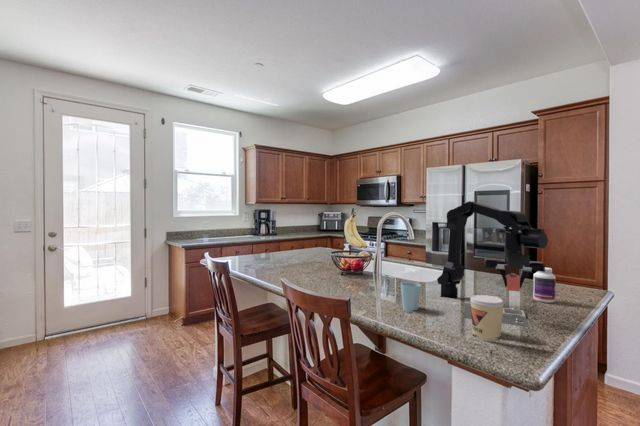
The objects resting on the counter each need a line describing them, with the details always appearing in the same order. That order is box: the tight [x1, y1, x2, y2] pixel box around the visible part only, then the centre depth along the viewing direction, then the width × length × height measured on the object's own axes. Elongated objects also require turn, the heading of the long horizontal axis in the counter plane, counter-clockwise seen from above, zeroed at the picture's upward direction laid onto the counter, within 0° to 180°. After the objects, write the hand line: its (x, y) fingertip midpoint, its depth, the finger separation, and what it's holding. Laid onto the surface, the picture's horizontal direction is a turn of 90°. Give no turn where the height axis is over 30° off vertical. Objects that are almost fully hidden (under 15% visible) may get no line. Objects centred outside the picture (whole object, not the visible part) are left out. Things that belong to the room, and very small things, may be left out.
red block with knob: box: [505, 272, 521, 292], centre depth 120 cm, size 4×4×6 cm
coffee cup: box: [470, 294, 505, 342], centre depth 102 cm, size 9×9×12 cm
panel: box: [462, 302, 530, 328], centre depth 121 cm, size 20×20×2 cm
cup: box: [400, 281, 422, 314], centre depth 127 cm, size 8×8×10 cm
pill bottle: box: [532, 266, 557, 304], centre depth 142 cm, size 8×8×14 cm
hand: (512, 287), depth 120 cm, fingers closed on red block with knob, 4 cm apart
